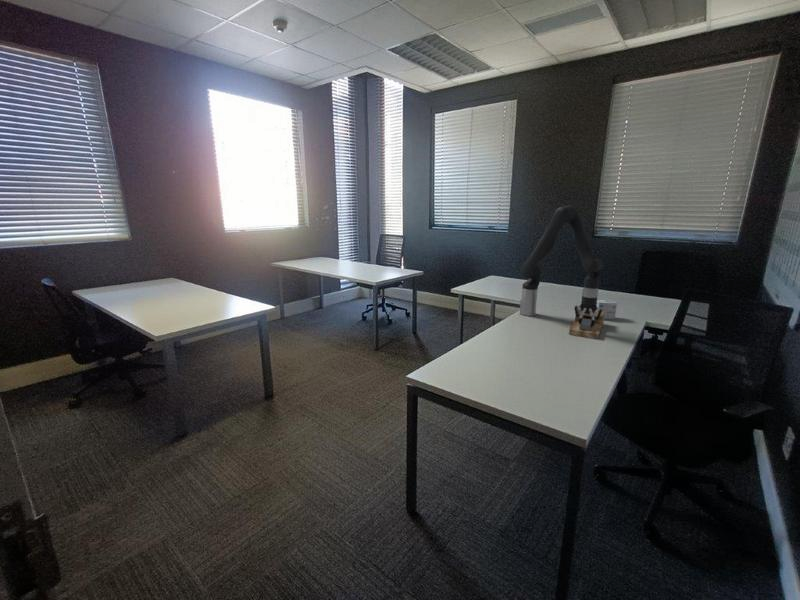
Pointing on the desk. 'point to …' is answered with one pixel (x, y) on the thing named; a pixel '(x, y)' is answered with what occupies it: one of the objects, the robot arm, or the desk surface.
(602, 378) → the desk surface
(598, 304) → the light bulb box
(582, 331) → the wooden box
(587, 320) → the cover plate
